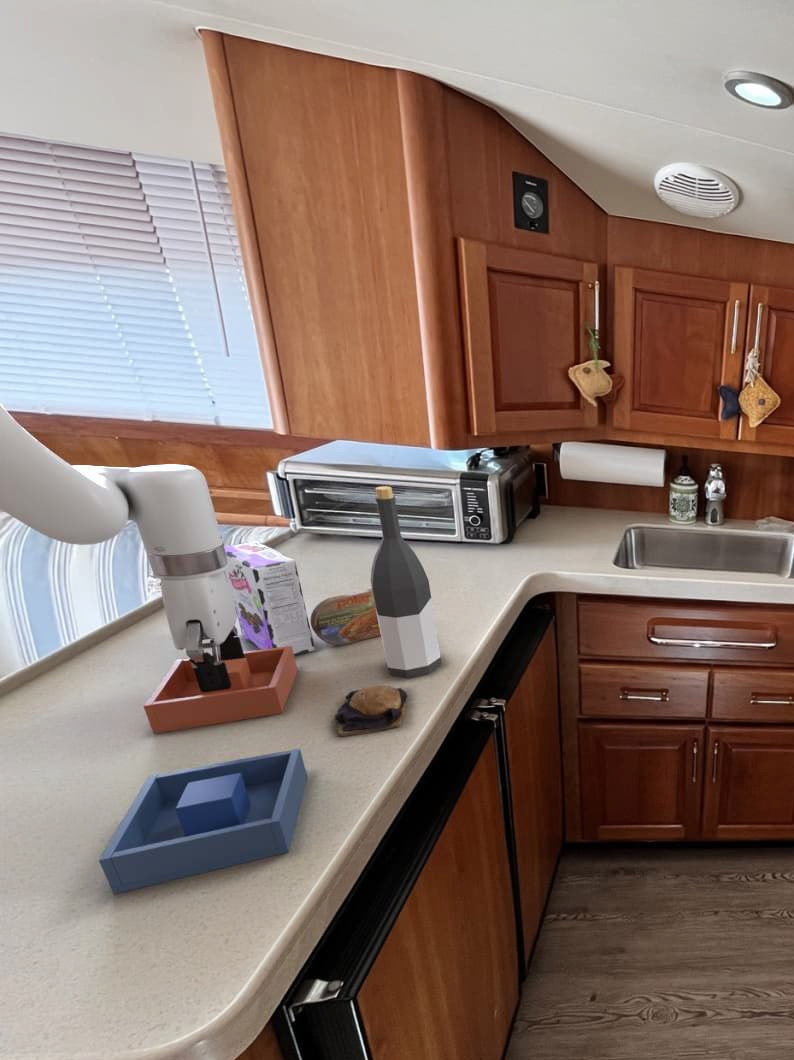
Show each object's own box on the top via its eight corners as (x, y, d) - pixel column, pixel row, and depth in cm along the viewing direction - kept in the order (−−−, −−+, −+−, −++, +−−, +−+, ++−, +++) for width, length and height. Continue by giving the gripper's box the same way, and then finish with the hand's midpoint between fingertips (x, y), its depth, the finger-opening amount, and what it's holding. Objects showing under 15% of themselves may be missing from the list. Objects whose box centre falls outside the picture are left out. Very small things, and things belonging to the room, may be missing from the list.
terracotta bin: (153, 733, 84) (143, 706, 82) (184, 685, 95) (176, 659, 93) (282, 713, 90) (275, 687, 88) (297, 669, 101) (291, 645, 99)
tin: (320, 651, 107) (309, 605, 104) (313, 645, 108) (302, 600, 105) (415, 626, 118) (408, 584, 115) (408, 621, 120) (401, 579, 116)
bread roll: (345, 699, 95) (340, 678, 93) (410, 690, 98) (406, 669, 97) (332, 739, 86) (326, 715, 84) (404, 727, 89) (400, 704, 88)
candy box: (241, 637, 109) (215, 546, 103) (281, 626, 114) (259, 539, 107) (276, 662, 103) (250, 567, 96) (317, 649, 107) (296, 558, 101)
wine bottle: (395, 656, 107) (362, 481, 96) (447, 654, 109) (421, 482, 98) (378, 679, 100) (341, 493, 89) (435, 677, 102) (405, 494, 91)
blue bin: (113, 894, 61) (98, 860, 60) (160, 806, 72) (148, 775, 71) (288, 852, 68) (279, 820, 66) (307, 776, 79) (300, 748, 77)
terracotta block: (206, 704, 89) (197, 677, 88) (214, 689, 93) (206, 662, 91) (247, 698, 91) (239, 671, 90) (253, 684, 95) (246, 657, 93)
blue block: (187, 842, 67) (174, 808, 65) (199, 815, 70) (187, 782, 69) (242, 830, 69) (231, 797, 67) (251, 804, 73) (241, 772, 71)
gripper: (172, 542, 89) (206, 653, 96) (126, 586, 76) (169, 712, 82) (241, 539, 93) (269, 646, 100) (208, 579, 79) (244, 701, 86)
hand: (224, 675), depth 91 cm, fingers open, 7 cm apart
